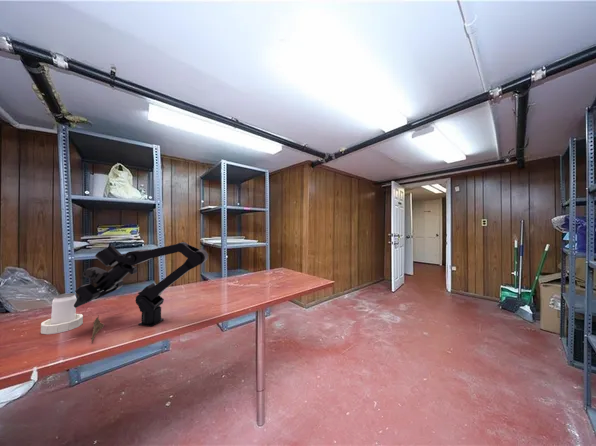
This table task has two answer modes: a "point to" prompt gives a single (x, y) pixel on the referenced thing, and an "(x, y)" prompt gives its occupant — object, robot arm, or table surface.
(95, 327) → the brown curved piece
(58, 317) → the white rounded block
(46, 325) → the bowl
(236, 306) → the table surface
